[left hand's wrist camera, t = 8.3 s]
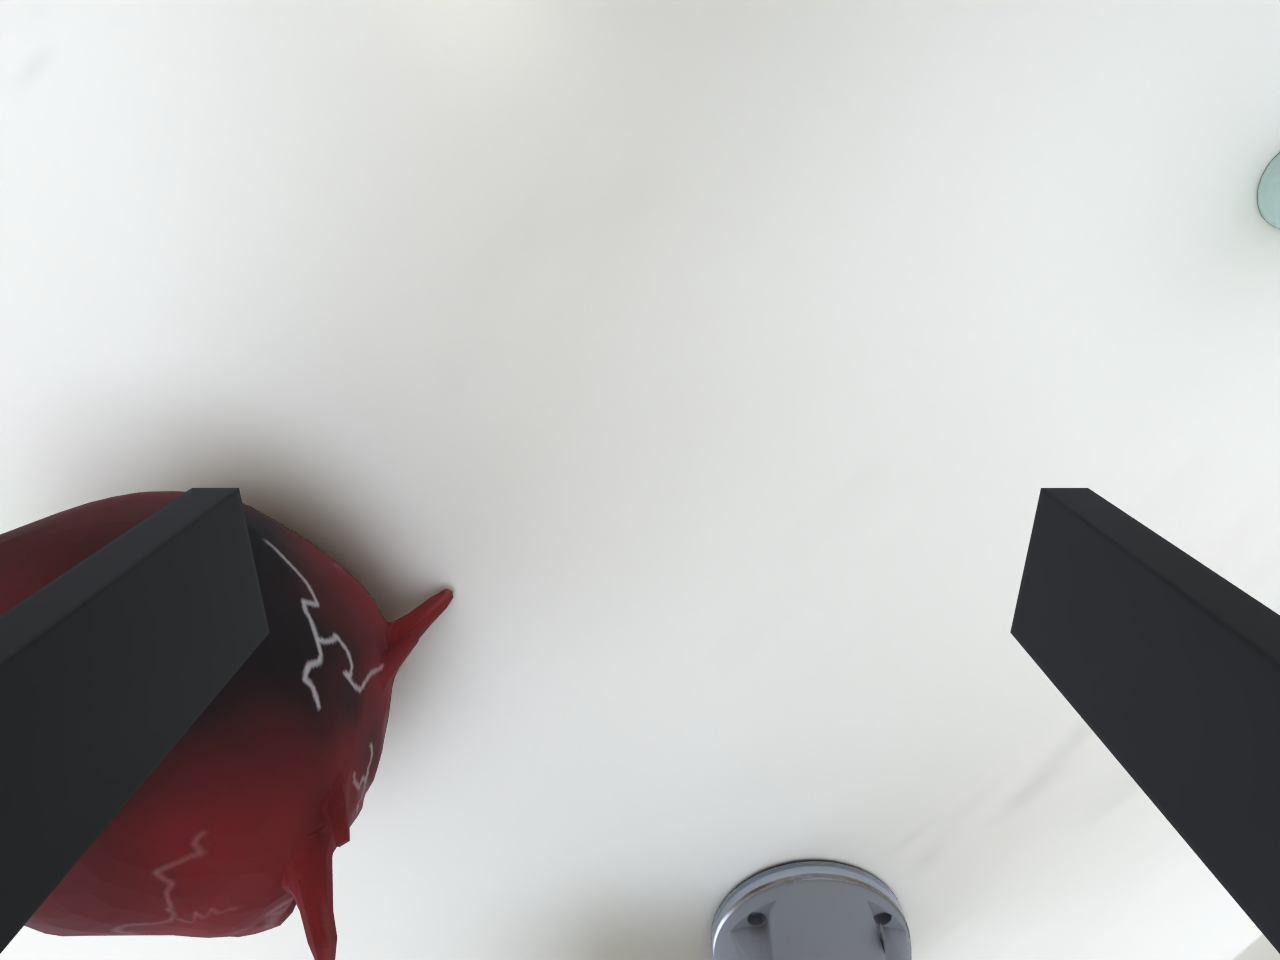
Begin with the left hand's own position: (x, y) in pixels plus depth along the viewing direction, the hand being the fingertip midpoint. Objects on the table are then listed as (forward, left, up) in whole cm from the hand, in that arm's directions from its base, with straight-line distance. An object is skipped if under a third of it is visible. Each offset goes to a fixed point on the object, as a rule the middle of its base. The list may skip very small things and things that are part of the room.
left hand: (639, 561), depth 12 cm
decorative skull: (-21, +26, -31) cm, 46 cm away
